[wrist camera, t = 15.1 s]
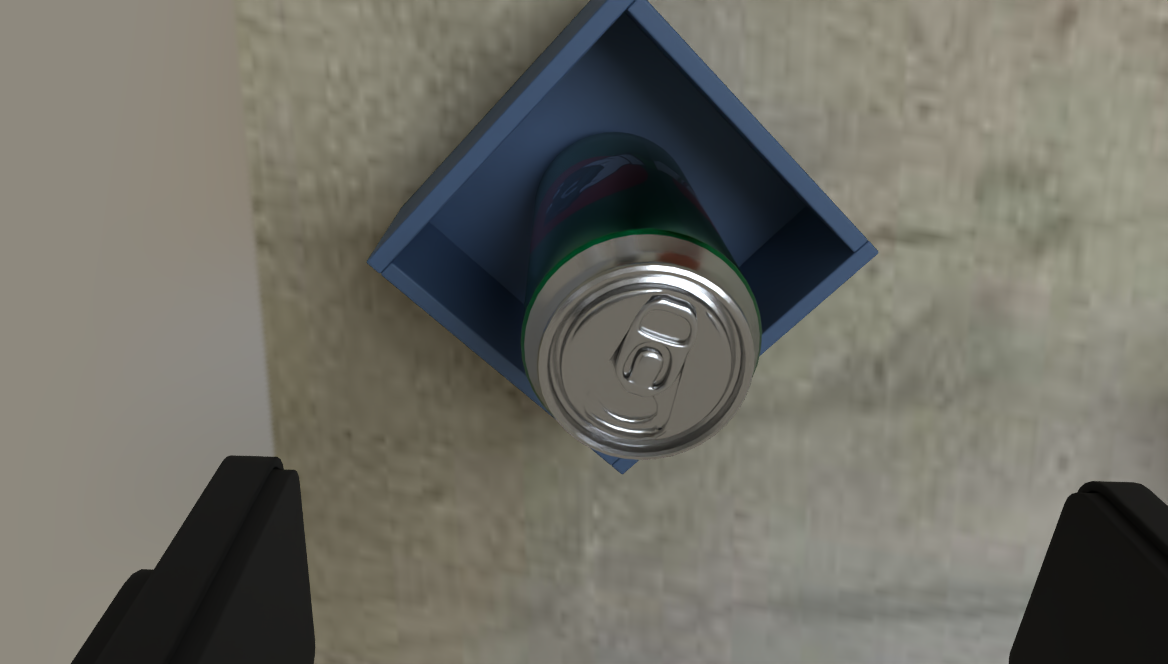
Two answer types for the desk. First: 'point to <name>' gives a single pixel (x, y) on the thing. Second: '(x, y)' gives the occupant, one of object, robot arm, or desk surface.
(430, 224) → the blue bin
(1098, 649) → the robot arm
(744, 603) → the desk surface
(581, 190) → the soda can
